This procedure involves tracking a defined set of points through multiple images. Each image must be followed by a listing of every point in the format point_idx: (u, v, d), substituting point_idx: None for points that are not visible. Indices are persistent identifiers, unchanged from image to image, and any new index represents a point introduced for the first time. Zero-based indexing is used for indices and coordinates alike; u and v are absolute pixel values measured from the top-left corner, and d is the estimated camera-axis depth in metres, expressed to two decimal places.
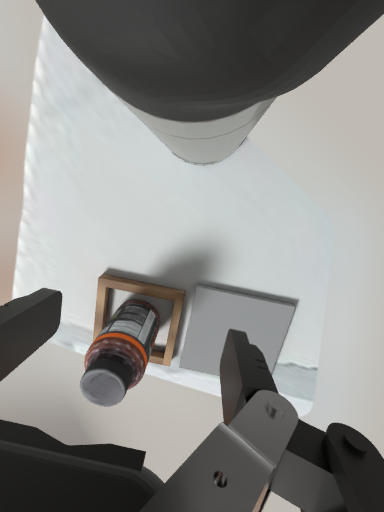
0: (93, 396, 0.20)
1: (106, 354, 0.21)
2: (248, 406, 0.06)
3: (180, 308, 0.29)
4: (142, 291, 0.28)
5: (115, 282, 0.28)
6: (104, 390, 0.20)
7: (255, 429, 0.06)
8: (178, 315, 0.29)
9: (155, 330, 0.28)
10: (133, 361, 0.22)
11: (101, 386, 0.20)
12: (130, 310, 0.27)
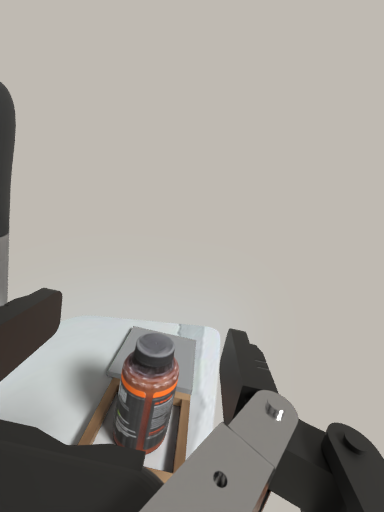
0: (164, 349, 0.23)
1: (132, 357, 0.24)
2: (248, 406, 0.06)
3: None
4: (101, 410, 0.26)
5: (82, 439, 0.23)
6: (157, 342, 0.24)
7: (255, 429, 0.06)
8: None
9: None
10: None
11: (153, 342, 0.24)
12: None
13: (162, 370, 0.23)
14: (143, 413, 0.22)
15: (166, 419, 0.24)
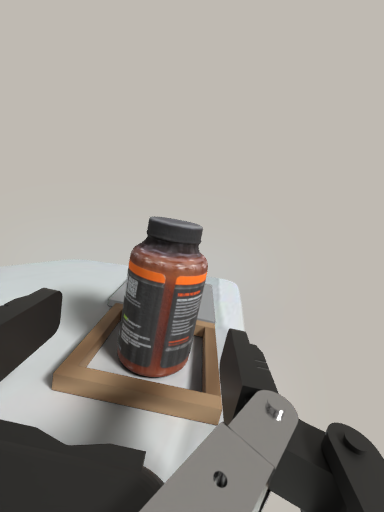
0: (188, 224, 0.17)
1: (144, 240, 0.17)
2: (248, 406, 0.06)
3: None
4: (101, 328, 0.20)
5: (75, 352, 0.16)
6: (178, 221, 0.17)
7: (255, 429, 0.06)
8: None
9: None
10: None
11: (172, 220, 0.17)
12: None
13: (187, 251, 0.16)
14: (162, 309, 0.16)
15: (191, 328, 0.18)
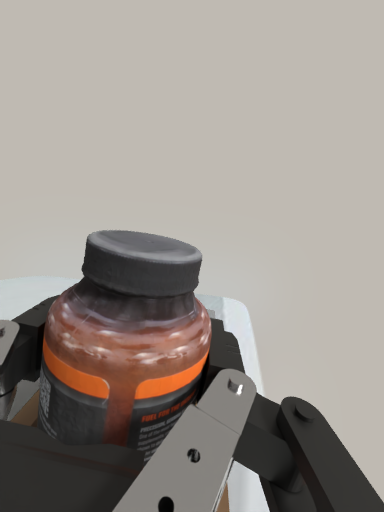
0: (172, 250, 0.08)
1: (80, 281, 0.08)
2: (212, 385, 0.07)
3: None
4: None
5: None
6: (153, 241, 0.09)
7: (213, 399, 0.06)
8: None
9: None
10: None
11: (139, 239, 0.08)
12: None
13: (167, 312, 0.07)
14: None
15: None
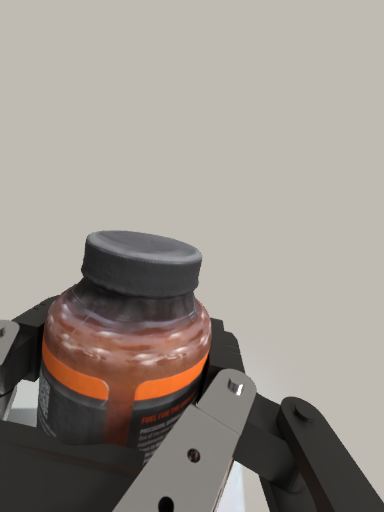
0: (171, 250, 0.08)
1: None
2: (212, 386, 0.07)
3: None
4: None
5: None
6: (152, 241, 0.08)
7: (213, 399, 0.06)
8: None
9: None
10: None
11: (139, 240, 0.08)
12: None
13: (167, 313, 0.07)
14: None
15: None
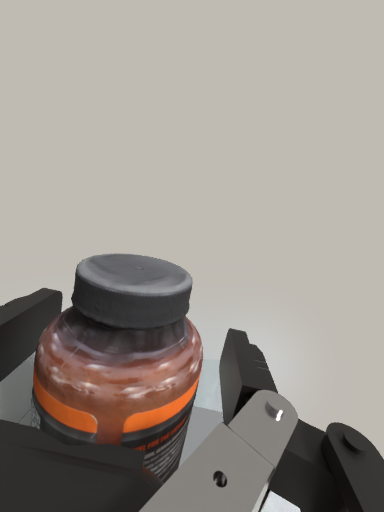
0: (161, 278, 0.08)
1: (70, 308, 0.08)
2: (248, 406, 0.06)
3: None
4: None
5: None
6: (143, 266, 0.09)
7: (255, 429, 0.06)
8: None
9: None
10: None
11: (130, 266, 0.08)
12: None
13: (156, 342, 0.07)
14: None
15: None
